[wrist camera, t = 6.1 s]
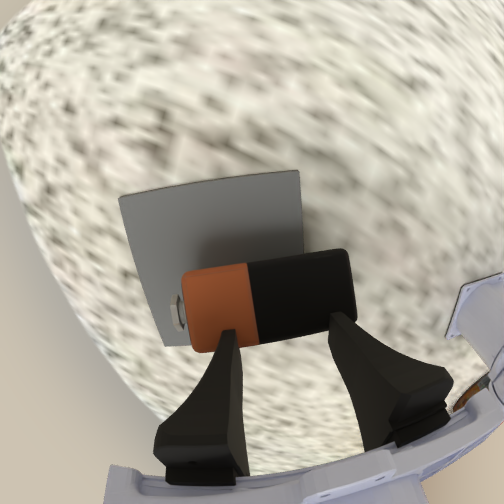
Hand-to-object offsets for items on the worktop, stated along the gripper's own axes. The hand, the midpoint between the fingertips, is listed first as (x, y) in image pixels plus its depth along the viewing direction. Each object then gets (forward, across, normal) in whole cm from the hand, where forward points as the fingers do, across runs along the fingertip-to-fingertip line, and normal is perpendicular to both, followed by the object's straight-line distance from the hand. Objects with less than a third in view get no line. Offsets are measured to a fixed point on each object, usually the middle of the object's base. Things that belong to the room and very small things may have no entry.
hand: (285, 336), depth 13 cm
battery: (+4, -4, 0) cm, 6 cm away
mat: (+9, +4, 0) cm, 9 cm away
